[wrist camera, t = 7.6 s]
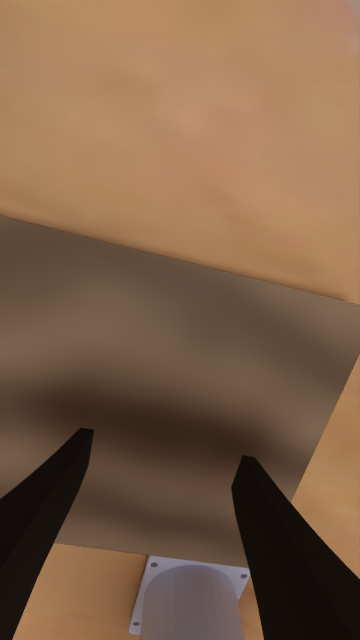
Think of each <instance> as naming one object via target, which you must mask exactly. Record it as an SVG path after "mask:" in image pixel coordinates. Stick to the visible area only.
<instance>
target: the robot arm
mask: <svg viewBox="0 0 360 640" xmlns="http://www.w3.org/2000/svg"><path fill="white" fill-rule="evenodd" d="M93 435H94V430H92V429H86V428H79V429H78V430H77V431H76V432H75V433H74V434H73V435H72V436H71V437H70V438H69V439H68V440H67V441H66V442H65V443H64V444H63V445H62V446H61V447H60V448H59V449H58V450H57V451H56V452H55V453H54V454H53V455H51V456H50V457H49V458H48V459H47V460H46V461H45V462H44V463H43V464H42V465H40V466H39V467H38V468H37V469H36V470H35V471H34V472H32V473H31V474H30V475H29V476H28V477H26V478H25V479H24V480H23V481H22V482H20V483H19V484H18V485H17V486H16V487H14V488H13V489H12V490H11V491H9V492H8V493H7V494H6V495H4V496H3V497H2V498H0V640H12V639H13V636H14V634H15V631H16V629H17V626H18V624H19V621H20V619H21V617H22V614H23V612H24V609H25V607H26V604H27V602H28V600H29V597H30V595H31V592H32V590H33V587H34V585H35V583H36V580H37V578H38V575H39V573H40V571H41V569H42V567H43V564H44V562H45V560H46V558H47V556H48V554H49V552H50V550H51V548H52V546H53V543H54V541H55V539H56V537H57V535H58V533H59V531H60V529H61V527H62V525H63V523H64V521H65V519H66V517H67V515H68V513H69V511H70V508H71V506H72V504H73V502H74V500H75V498H76V496H77V494H78V492H79V489H80V487H81V484H82V482H83V479H84V476H85V474H86V471H87V468H88V466H89V460H90V454H91V447H92V441H93ZM231 491H232V498H233V505H234V511H235V516H236V520H237V524H238V528H239V532H240V536H241V540H242V544H243V548H244V551H245V555H246V559H247V563H248V567H249V568H242V567H234V566H227V565H219V564H211V563H204V562H196V561H189V560H181V559H173V558H166V557H158V556H151V555H149V556H148V560H147V563H146V567H145V570H144V574H143V577H142V581H141V584H140V588H139V591H138V595H137V598H136V602H135V605H134V609H133V612H132V616H131V619H130V623H129V630H128V631H129V633H130V634H132V635H140V640H245V637H244V632H243V626H242V621H241V616H240V611H239V605H238V601H239V599H240V597H241V595H242V592H243V590H244V588H245V586H246V584H247V581H248V579H249V577H250V575H251V578H252V582H253V586H254V591H255V595H256V600H257V604H258V609H259V615H260V620H261V625H262V631H263V636H264V640H360V579H359V578H358V577H357V576H356V575H355V574H354V573H353V572H352V571H351V570H350V569H349V568H348V567H347V566H346V565H345V564H344V563H343V562H342V561H341V560H340V558H339V557H338V556H337V555H336V554H335V553H334V552H333V551H332V550H331V549H330V548H329V547H328V546H327V545H326V544H325V542H324V541H323V540H322V539H321V538H320V537H319V536H318V535H317V534H316V532H315V531H314V530H313V529H312V528H311V527H310V525H309V524H308V523H307V522H306V521H305V520H304V518H303V517H302V516H301V515H300V514H299V512H298V511H297V510H296V509H295V508H294V506H293V505H292V504H291V503H290V501H289V500H288V499H287V498H286V496H285V495H284V494H283V493H282V491H281V490H280V489H279V488H278V486H277V485H276V484H275V482H274V481H273V480H272V479H271V477H270V476H269V475H268V473H267V472H266V471H265V469H264V468H263V467H262V466H261V464H260V463H259V462H258V461H257V459H256V458H255V457H252V456H246V455H242V458H241V461H240V464H239V466H238V469H237V472H236V475H235V478H234V480H233V483H232V486H231Z"/></svg>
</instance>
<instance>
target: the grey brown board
mask: <svg viewBox="0 0 360 640" xmlns="http://www.w3.org/2000/svg"><path fill="white" fill-rule="evenodd" d="M359 354H360V305H358V304H354V303H350V302H346V301H342V300H338V299H334V298H330V297H326V296H322V295H318V294H314V293H310V292H306V291H302V290H298V289H294V288H290V287H286V286H282V285H278V284H273V283H269V282H265V281H261V280H257V279H253V278H249V277H245V276H241V275H237V274H233V273H229V272H225V271H221V270H217V269H213V268H209V267H205V266H201V265H197V264H193V263H189V262H185V261H181V260H177V259H173V258H169V257H165V256H161V255H157V254H153V253H149V252H145V251H141V250H137V249H133V248H129V247H125V246H120V245H116V244H112V243H108V242H104V241H100V240H96V239H92V238H88V237H84V236H80V235H76V234H72V233H68V232H64V231H60V230H56V229H52V228H48V227H44V226H40V225H36V224H32V223H28V222H24V221H20V220H16V219H12V218H8V217H4V216H0V498H2V497H3V496H4V495H6V494H7V493H8V492H9V491H11V490H12V489H13V488H14V487H16V486H17V485H18V484H19V483H20V482H22V481H23V480H24V479H25V478H26V477H28V476H29V475H30V474H31V473H32V472H34V471H35V470H36V469H37V468H38V467H39V466H40V465H42V464H43V463H44V462H45V461H46V460H47V459H48V458H49V457H50V456H51V455H53V454H54V453H55V452H56V451H57V450H58V449H59V448H60V447H61V446H62V445H63V444H64V443H65V442H66V441H67V440H68V439H69V438H70V437H71V436H72V435H73V434H74V433H75V432H76V431H77V430H78V429H79V428H86V429H92V430H94V435H93V441H92V447H91V454H90V460H89V466H88V468H87V471H86V474H85V476H84V479H83V482H82V484H81V487H80V489H79V492H78V494H77V496H76V498H75V500H74V502H73V504H72V506H71V508H70V511H69V513H68V515H67V517H66V519H65V521H64V523H63V525H62V527H61V529H60V531H59V533H58V535H57V537H56V539H55V541H54V543H59V544H67V545H74V546H82V547H90V548H97V549H105V550H112V551H120V552H128V553H135V554H143V555H151V556H158V557H166V558H173V559H181V560H189V561H196V562H204V563H211V564H219V565H227V566H234V567H242V568H249V567H248V563H247V559H246V555H245V551H244V548H243V544H242V540H241V536H240V532H239V528H238V524H237V520H236V516H235V511H234V505H233V498H232V491H231V486H232V483H233V480H234V478H235V475H236V472H237V469H238V466H239V464H240V461H241V458H242V455H246V456H252V457H255V458H256V459H257V461H258V462H259V463H260V464H261V466H262V467H263V468H264V469H265V471H266V472H267V473H268V475H269V476H270V477H271V479H272V480H273V481H274V482H275V484H276V485H277V486H278V488H279V489H280V490H281V491H282V493H283V494H284V495H285V496H286V498H287V499H288V500H289V501H290V503H291V500H292V498H293V496H294V494H295V492H296V490H297V488H298V485H299V483H300V481H301V479H302V477H303V475H304V472H305V470H306V468H307V466H308V464H309V462H310V460H311V457H312V455H313V453H314V451H315V449H316V447H317V444H318V442H319V440H320V438H321V436H322V434H323V432H324V429H325V427H326V425H327V423H328V421H329V419H330V416H331V414H332V412H333V410H334V408H335V406H336V404H337V401H338V399H339V397H340V395H341V393H342V391H343V389H344V386H345V384H346V382H347V380H348V378H349V376H350V373H351V371H352V369H353V367H354V365H355V363H356V361H357V358H358V356H359Z"/></svg>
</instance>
